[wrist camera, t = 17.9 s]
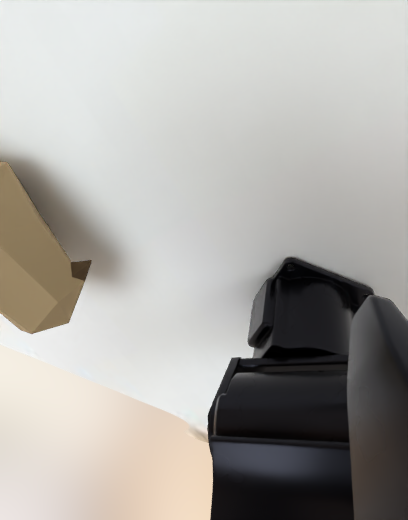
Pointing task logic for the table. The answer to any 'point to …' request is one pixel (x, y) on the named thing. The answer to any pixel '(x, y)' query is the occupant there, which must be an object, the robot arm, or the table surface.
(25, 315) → the low-poly potato
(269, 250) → the table surface
